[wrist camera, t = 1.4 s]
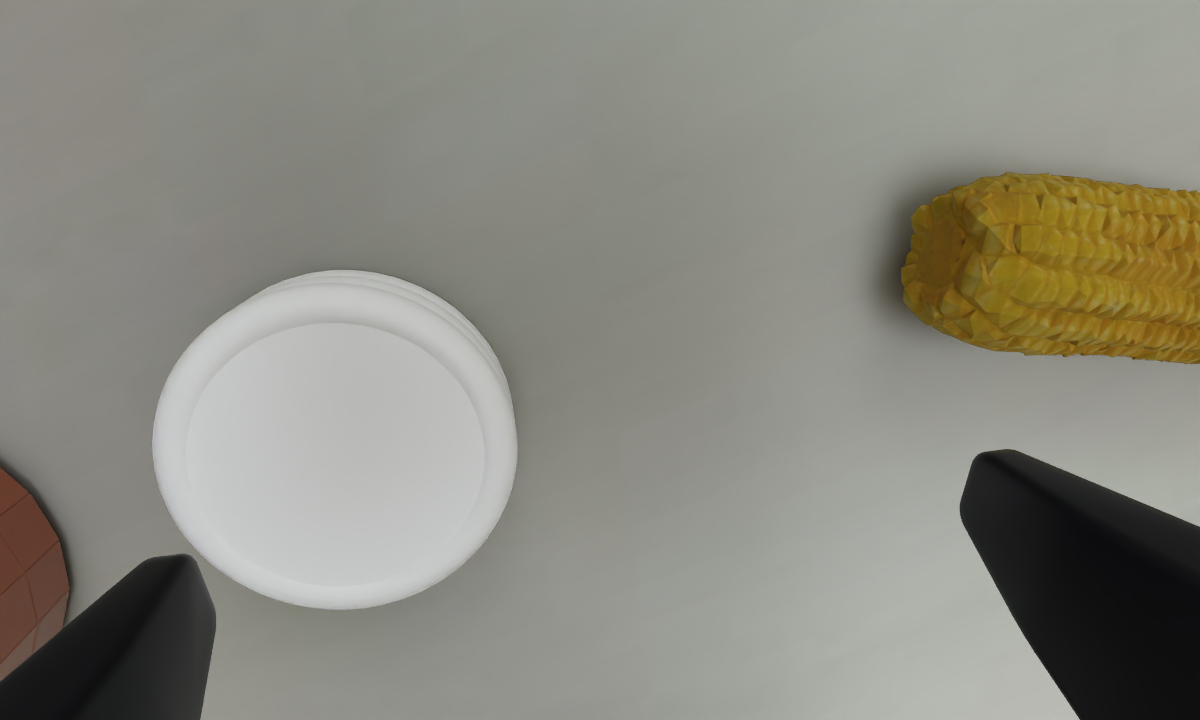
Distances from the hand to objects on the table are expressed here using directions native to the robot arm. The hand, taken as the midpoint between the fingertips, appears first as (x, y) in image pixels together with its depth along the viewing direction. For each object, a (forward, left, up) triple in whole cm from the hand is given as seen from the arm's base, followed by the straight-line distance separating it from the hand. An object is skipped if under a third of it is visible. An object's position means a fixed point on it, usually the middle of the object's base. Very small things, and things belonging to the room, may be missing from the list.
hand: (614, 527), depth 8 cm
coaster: (-6, +4, -16) cm, 17 cm away
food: (+7, -21, -16) cm, 27 cm away
